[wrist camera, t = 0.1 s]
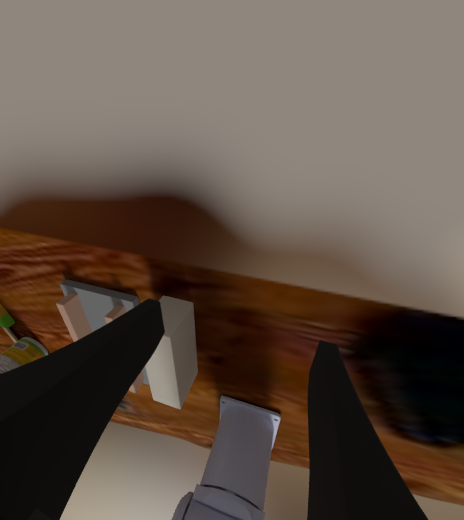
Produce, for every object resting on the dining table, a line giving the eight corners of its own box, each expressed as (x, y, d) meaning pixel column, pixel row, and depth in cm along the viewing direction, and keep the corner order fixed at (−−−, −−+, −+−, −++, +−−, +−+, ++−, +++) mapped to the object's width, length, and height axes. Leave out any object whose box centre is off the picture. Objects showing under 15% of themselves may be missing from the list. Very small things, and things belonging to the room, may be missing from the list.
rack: (156, 380, 36) (145, 400, 33) (100, 361, 38) (85, 378, 35) (138, 296, 27) (120, 314, 25) (66, 279, 29) (44, 294, 27)
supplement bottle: (43, 360, 44) (-17, 414, 36) (19, 340, 43) (-49, 392, 35) (54, 353, 41) (-9, 410, 33) (28, 332, 40) (-43, 386, 32)
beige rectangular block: (198, 371, 32) (180, 409, 27) (174, 363, 32) (153, 399, 28) (193, 301, 25) (170, 337, 21) (164, 294, 26) (135, 327, 22)
